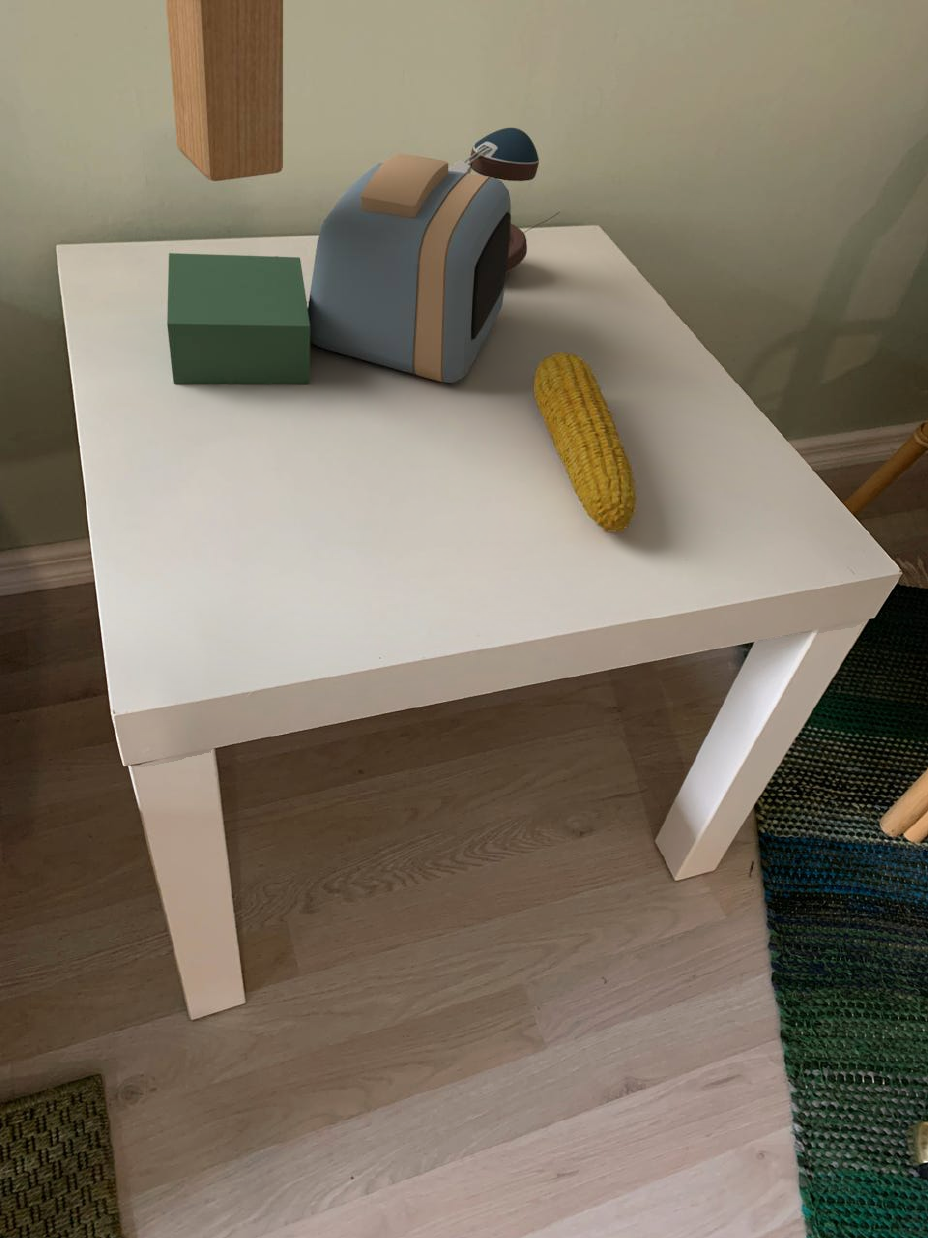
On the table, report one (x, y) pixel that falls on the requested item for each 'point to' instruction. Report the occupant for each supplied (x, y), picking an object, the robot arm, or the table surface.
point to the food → (586, 439)
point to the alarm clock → (412, 267)
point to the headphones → (505, 172)
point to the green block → (237, 320)
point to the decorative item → (228, 85)
